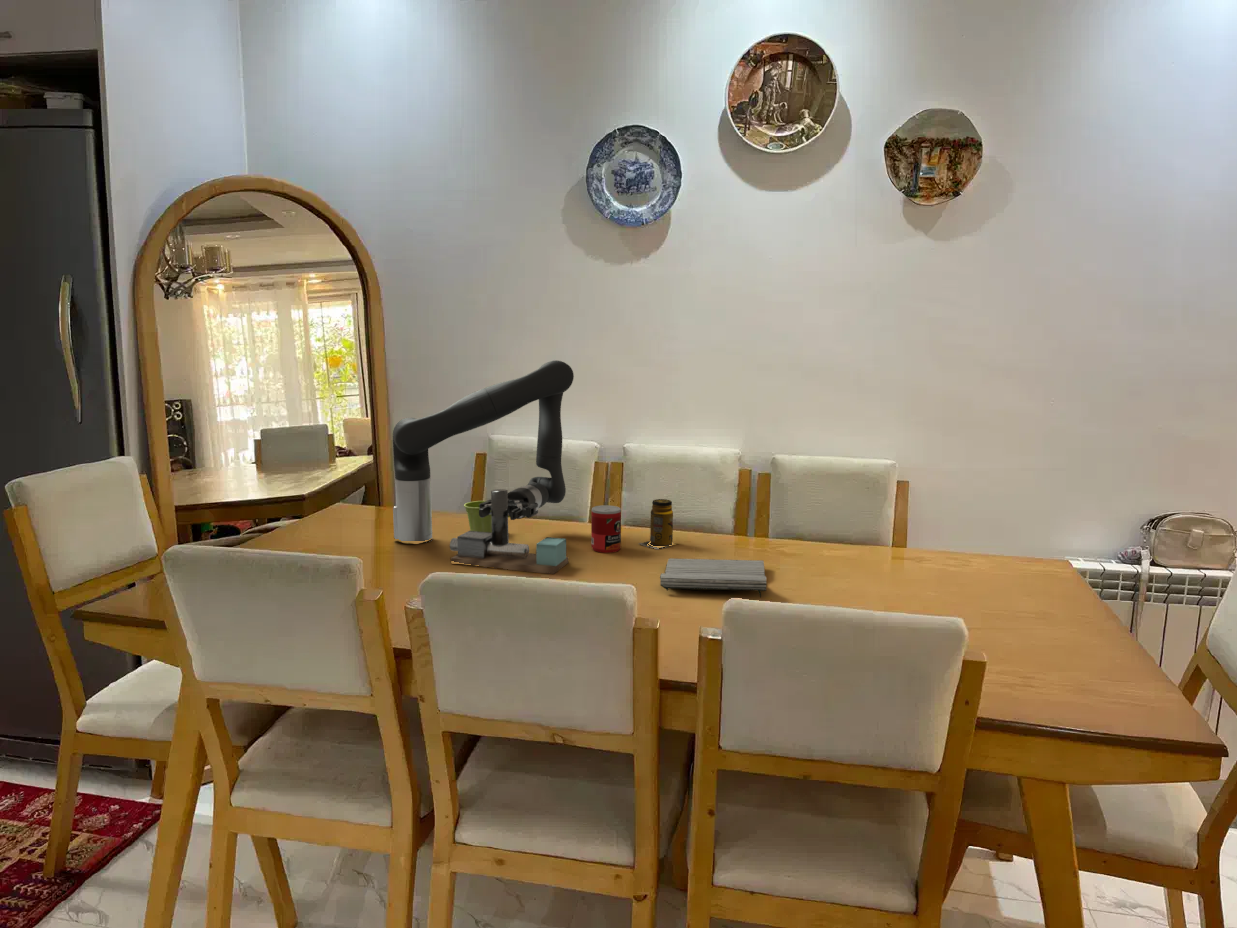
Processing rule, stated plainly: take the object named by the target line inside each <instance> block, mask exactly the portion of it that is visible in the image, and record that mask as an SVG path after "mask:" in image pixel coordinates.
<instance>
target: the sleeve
mask: <svg viewBox="0 0 1237 928" xmlns="http://www.w3.org/2000/svg"><path fill="white" fill-rule="evenodd" d="M456 538H457V542H458V551H457V554H458V557H469V558H479V559H484V558H485V541H492V533H490V532H478V531H470V530H467V531H466V532H464V533H462V534H460V535H457V537H456Z"/></svg>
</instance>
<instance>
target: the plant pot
mask: <svg viewBox="0 0 1237 928" xmlns="http://www.w3.org/2000/svg"><path fill="white" fill-rule="evenodd" d="M485 501H486V500H476V501H470V502H469V501H468V502H466V503H464V505H463V507H464V508H465V512H466V514H467V519H468V525H469V531H478V532H490V533H492V514H491V515H488V516H486V517H484V518H481V517H480V516H479V504H480V503H483V502H485ZM490 512H491V511H490Z"/></svg>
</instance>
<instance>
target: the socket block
mask: <svg viewBox="0 0 1237 928" xmlns="http://www.w3.org/2000/svg"><path fill="white" fill-rule="evenodd" d="M535 546H536V549H535V551H536V553H535V554H536V561H537V564H539V565H550V566H557V565H558V564H560V563H561V562H562V561H564V560H565V559H566V557H567V538H564V537H563V538H561V537H548V536H546V537H544V538H543V539H541V540H540V541H539V542H537V543H536V545H535Z"/></svg>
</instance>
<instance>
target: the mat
mask: <svg viewBox="0 0 1237 928" xmlns="http://www.w3.org/2000/svg"><path fill="white" fill-rule="evenodd" d="M765 571H766V570H765V563H764V560H762V559H761V560H754V559H753V560H752V559H751V560H749V559H747V560H746V559H713V558H712V559H710V558H709V559H708V558H706V559H705V558H673V557H672V558H671V557H670V558H668V560H667V563H666V567H665V570H664V573H663V572H661V573H660V577H659V580H660V586H661V588H664V589H665V590H666V591H667V592H668V590H669V589H673V590H719V591H720V590H726V591H756V592H758V594H759V597H760V598H761V599H762V595H761V592H767V576H766V575H765V574H766V572H765Z"/></svg>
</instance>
